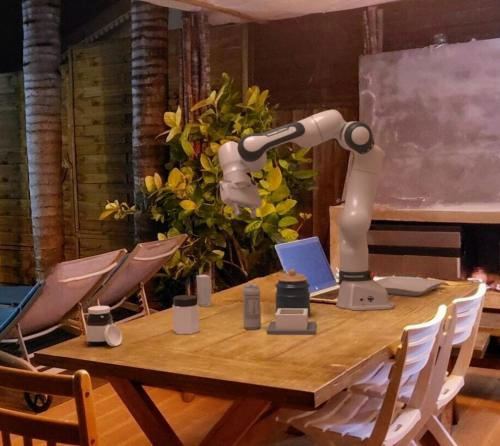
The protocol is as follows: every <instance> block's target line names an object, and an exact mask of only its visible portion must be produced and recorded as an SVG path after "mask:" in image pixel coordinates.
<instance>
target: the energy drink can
mask: <svg viewBox="0 0 500 446" xmlns="http://www.w3.org/2000/svg"><path fill="white" fill-rule="evenodd" d="M243 286H244V287H243V289H242V306H243V307H242V320H243V327H244V329H245V330H249V331H251V330H253V331H254V330H258V329H260V327H261V325H262V319H261V313H262V312H261V311H262V310H261V289H260V287H259V284H256V283H247V284H244V285H243Z"/></svg>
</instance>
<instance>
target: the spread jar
mask: <svg viewBox="0 0 500 446" xmlns="http://www.w3.org/2000/svg"><path fill="white" fill-rule="evenodd" d="M110 310H111V307H110V306H109V305H95V306H90V307H88V308H87V311H88V314H87V317H86V340H87V343H88V345H90V346H93V347H102V346H103V347H104V346H107V345H109V346H111V347H117V346H120V345H121V344H122V342H123V333H122V330H121V328H120V327H119V326H118V325H116V324H113V316H112V314H111V311H110Z"/></svg>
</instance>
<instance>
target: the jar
mask: <svg viewBox="0 0 500 446" xmlns="http://www.w3.org/2000/svg"><path fill="white" fill-rule="evenodd" d="M172 300H173V304H172V324H173V325H172V326H173V329H172V330H173V331H172V332H174V333H175V334H177V335H193V334H196V333H199V332H200V313H199V311H200V309H199V308H200V307H199V306H200V305H199V304H198V295H197V296H196V295H194V294H181V295H175V296H174V297H173V298H172Z"/></svg>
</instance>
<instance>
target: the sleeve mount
mask: <svg viewBox="0 0 500 446" xmlns="http://www.w3.org/2000/svg"><path fill="white" fill-rule="evenodd" d="M316 331H317V321H309V317H308V309H293V308H278V310H277V312H276V311H275V319H274V320H271V321H270V323H269V325H268V327H267V329H266V335H280V336H281V335H286V336H287V335H289V336H290V335H291V336H293V335H294V336H295V335H298V336H299V335H301V336H303V335H305V336H308V335H309V336H311V335H313V336H314V335H316Z"/></svg>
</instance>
